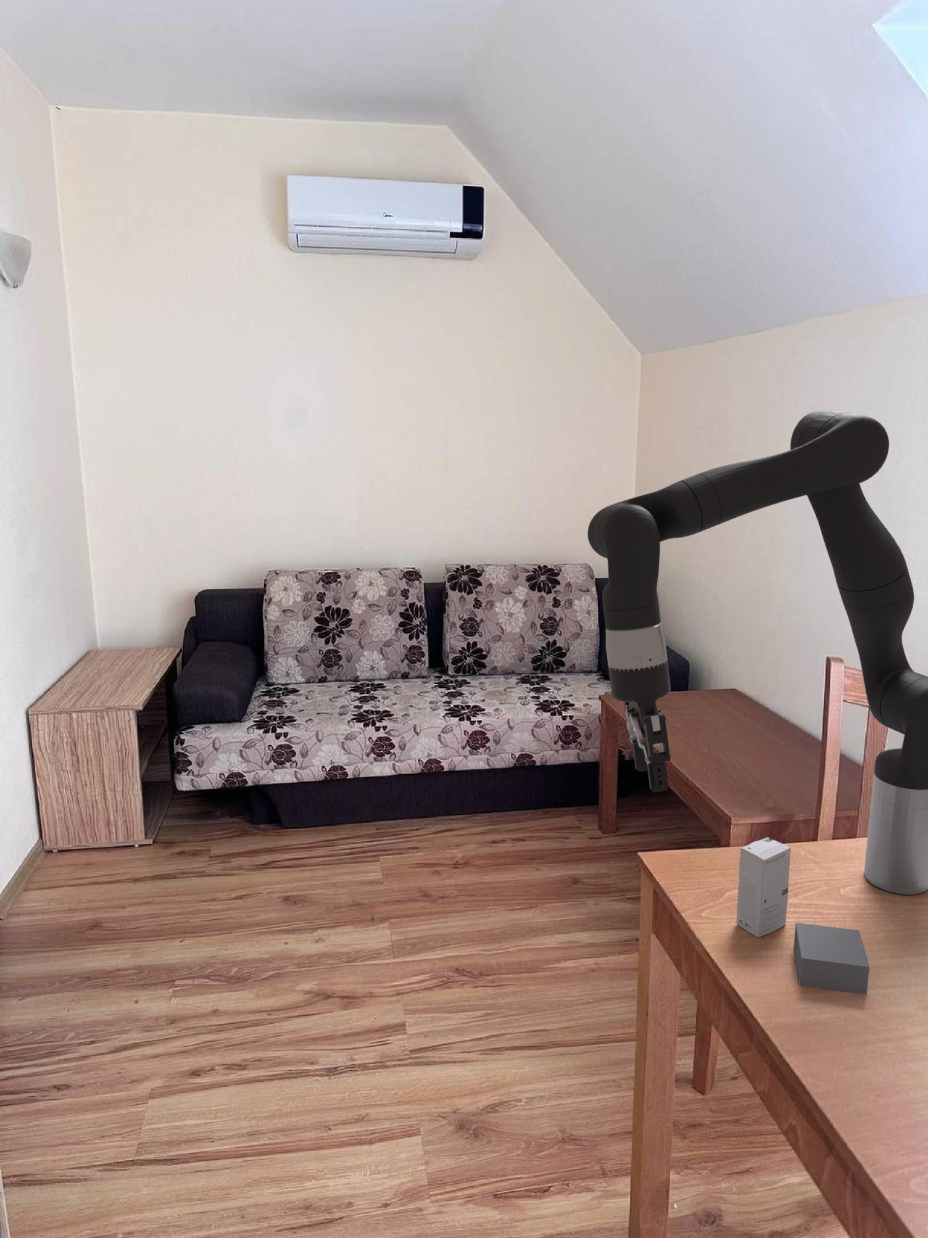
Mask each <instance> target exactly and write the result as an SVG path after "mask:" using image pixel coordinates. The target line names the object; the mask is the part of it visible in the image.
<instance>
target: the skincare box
mask: <svg viewBox="0 0 928 1238" xmlns="http://www.w3.org/2000/svg"><path fill="white" fill-rule="evenodd" d="M791 851H792V850H791V847H790V846H787V845H786V844H784V843H782V842H779V841H777V840H775V839H772V838H770V837H765V838H763V839H760V840H756V841H752V842H751V843H750V844H747V845H745V846H743V847H741V848H740V851H739V865H738V866H739V868H738V869H739V870H738V871H739V872H738V886H737V887H738V889H737V890H738V891H737V905H736V925H737V926H739V927H741V928H742V929H743V930H745V931H746V932H748V933H750V934H751V935H753V936H754V937H757V938H761V937H764V936H765V935H768V934H771V933H772V932H774V931H777V930H779V929H780V928H782V927H784V926H785V925H786V924H787V914H788V913H787V911H788V895H789V880H790V862H791V861H790V860H791Z"/></svg>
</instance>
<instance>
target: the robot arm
mask: <svg viewBox="0 0 928 1238" xmlns="http://www.w3.org/2000/svg"><path fill="white" fill-rule="evenodd" d="M789 449H790V450H787V451H783V452H780V453H777V454H773V455H769V456H766V457H761V458H755V459H750V460H745V461H740V462H736V463H731V464H727V465H726V464H725V465H721V466H718V467H714V468H711V469H708V470H705V471H703V472H700V473H696V474H694V475H692V476H688V477H686V478H684V479H681V480H678V481H676V482H674V483H672V484H669V485H667V486H665V487H663V488H661V489H659V490H656V491H652V492H648V493H645V494H642V495H638V496H634V497H631V498H628V499H625V500H621V501H618V502H615V503H613V504H610V505H608V506H605V507H604V508H602V509H600V510H598V511H597V512H596V513H595V514H594V516H593V517H592V518H591V520H590V522H589V524H588V527H587V528H588V529H587V540H588V543H589V545H590V547H591V548H592V550H593V551H594V552H595V553H596V554H597V555H599V556H601V557H603V558H605V559H607V574H608V575H607V577H608V583H607V584H606V585H605V586H604V587H603V589H602V597H601V598H602V599H601V600H602V608H603V609H602V610H603V616H604V625H605V650H606V656H607V658H606V659H607V665H608V674H609V682H610V689H611V695H612V697H613V698H614V699H615V700H617V701H619V702H623V706H624V707H623V708H624V715H625V724H626V725H625V726H626V729H625V731H626V734H627V736H628V737H629V742H630V743H631V744H632V749H633V758H634V765H635V766H634V767H635V769H636V771H637V772H639V773H640V772H641V773H642V772H647V775H648V782H649V783H648V785H649V788H650V790H651V791H652V792H653V793H659V792H665V791H667V790H668V789H669V781H668V772H667V764H666V763H667V762H671V757H672V756H671V754H670V745H669V739H668V738H669V737H668V731H667V730H668V729H667V722H666V720H667V717H666V715H665V713H662V710H661V709H658V706H657V703H656V702H657V700H658V699H660V698H664V697H666V696H667V695H669V693H670V692H671V679H670V672H669V670H670V669H669V663H668V662H669V661H668V655H667V645H666V644H667V643H666V639H665V635H664V630H663V626H662V621H661V612H660V611H661V610H660V602H659V601H660V600H659V595H658V581H659V573H660V559H661V542H664V541H667V540H671V539H679V538H682V539H683V538H687V537H690V536H692V535H696V534H698V533H701V532H704V531H707V530H709V529H711V528H714V527H716V526H719V525H721V524H724V523H727V522H729V521H731V520H734V519H737V518H738V517H741V516H744V515H747V514H749V513H750V514H751V513H752V512H755V511H759V510H761V509H763V508H768V507H770V506H773V505H777V504H779V503H783V502H787V501H790V500H794V499H796V498H801V497H804V496H806V497H807V499H808V501H809V503H810V505H811V507H812V510H813V512H814V514H815V519H816V521H817V523H818V526H819V529H820V532H821V537H822V540H823V542H824V546H825V549H826V552H827V555H828V557H829V558H828V559H829V561H830V564H831V566H832V570H833V575H834V578H835V582H836V585H837V588H838V592H839V595H840V598H841V601H842V604H843V608H844V610H845V613H846V616H847V618H848V622H849V625H850V628H851V632H852V635H853V640H854V642H855V646H856V650H857V653H858V657H859V662H860V667H861V673H862V678H863V679H862V680H863V684H864V689H865V696H866V699H867V703H868V706H869V707H868V708H869V710H870V712H871V714H872V717H873V718H874V719H876V721H877V722H879V723H880V724H881V725H883V726H884V727H887V728H888V729H890V730H893V731H895V732H898V733H900V734H901V735H903V740H902V746H901V748H890V749H887V750H883V751H881V752H879V753H878V754H877V755H876V757H875V759H874V760H875V761H874V770H873V779H872V789H871V790H872V792H871V801H870V808H869V809H870V812H869V821H868V830H867V831H868V832H867V837H866V838H867V841H866V849H865V859H864V860H865V861H864V867H863V868H864V869H863V874H864V875H863V876H864V877H865V878H866V880H867V881H868V882H869V883H871V884H872V885H874V886H875V887H877V888H879V889H882V890H884V891H887V892H890V893H894V894H898V895H920V894H922V893H925V892H926V891H928V676H927V675H925V674H921V673H919V672H915V670H914V669H913V668H912V667H911V665H910V663H909V661H908V659H907V656H906V652H905V648H904V644H903V632H904V630H905V627H907V624H908V621H909V619H910V617H911V614H912V611H913V609H914V603H915V591H914V587H913V582H912V579H911V576H910V571H909V568H908V565H907V561H906V559H905V556H904V553H903V552H902V550H901V547H900V546H899V544H898V542H897V541H896V539H895V538H894V537H893V535H892V534H891V532H890V531H889V530H888V528H887V527H886V526H885V524H884V523H883V522H882V521H881V519H880V518H879V516H878V515H877V514H876V513H875V511H874V510H873V508H872V507H871V505H870V504H869V502H868V500H867V499H866V497H865V495H864V492H863V490H862V486H861V483H865V481H868V480H869V479H871V478H873V477H874V476H875V475H876V474H878V473H879V471H880V470H881V469H882V467H883V466H884V464H885V463H886V460H887V457H888V455H889V449H890V439H889V435H888V432H887V430H886V428H885V427H884V426H883V425H882V423H881V422H879V421H878V420H876V419H875V418H873V417H871V416H869V415H866V414H862V413H857V412H848V411H838V410H816V411H812V412H810V413H807V414H806V415H805V416H803V417H802V418H801V419H799V421H798V422H797V424H796V425H795V426H794V429H793V431H792V434H791V437H790V445H789ZM654 747H658V750H659V752H654Z"/></svg>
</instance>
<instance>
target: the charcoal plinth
mask: <svg viewBox="0 0 928 1238" xmlns="http://www.w3.org/2000/svg"><path fill="white" fill-rule="evenodd" d="M860 932H861V931H860V930H859V929H858V930H857V929H851V928H843V927H835V926H834V927H833V926H826V925H819V924H811V923H810V924H809V923H804V922H803V923H802V922H795V929H794V940H793V952H794V953H793V954H794V959H795V965H796V966H795V967H796V972H797V978H798V985H799V986H802V987H803V986H804V987H809V988H817V989H823V990H831V991H840V992H846V993H852V994H861V995H868V987H869V978H870V969H871V968H870V963H869V960H868V957H867V953H866V950H865V947H864V943H863V939H862V936H861V933H860Z"/></svg>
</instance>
